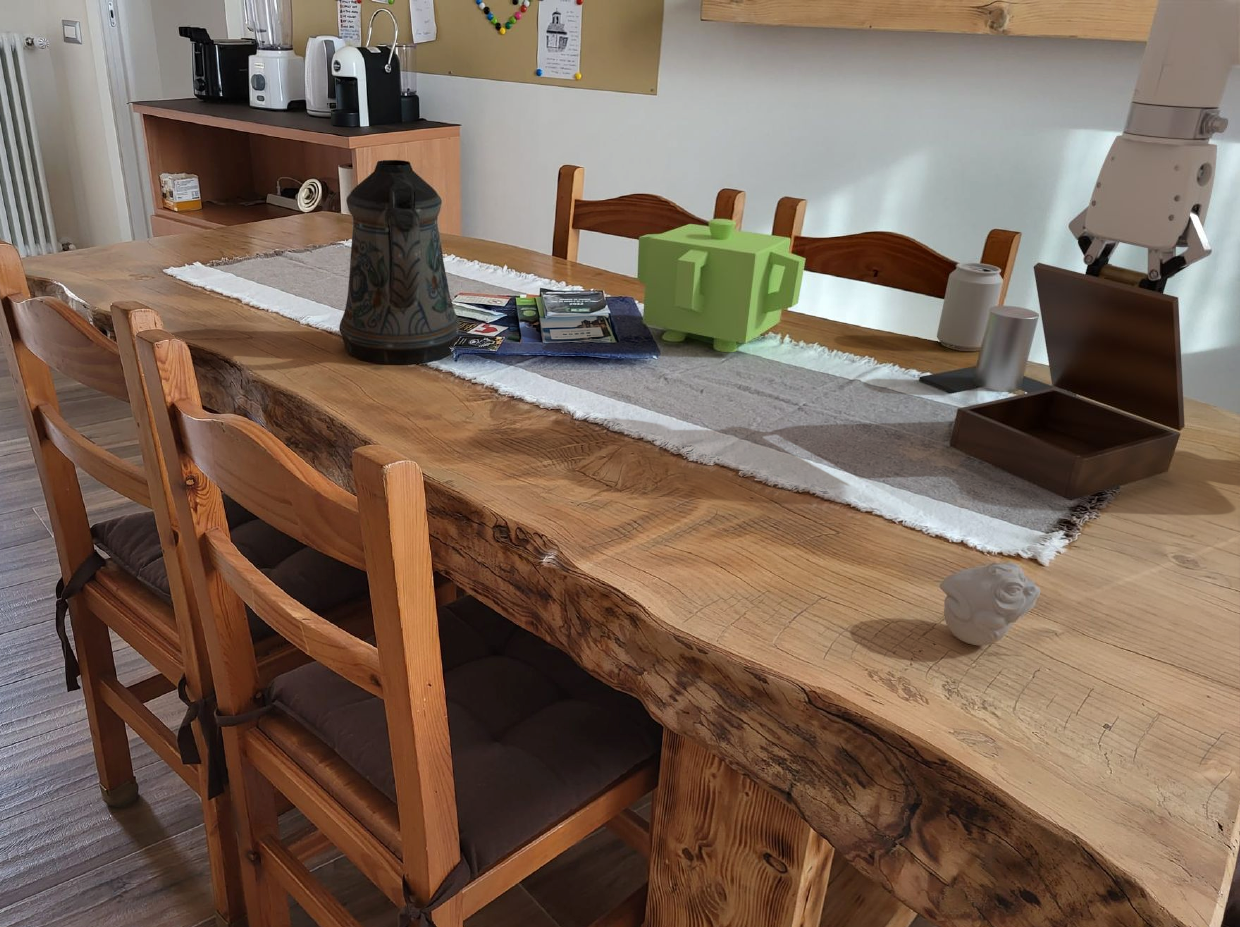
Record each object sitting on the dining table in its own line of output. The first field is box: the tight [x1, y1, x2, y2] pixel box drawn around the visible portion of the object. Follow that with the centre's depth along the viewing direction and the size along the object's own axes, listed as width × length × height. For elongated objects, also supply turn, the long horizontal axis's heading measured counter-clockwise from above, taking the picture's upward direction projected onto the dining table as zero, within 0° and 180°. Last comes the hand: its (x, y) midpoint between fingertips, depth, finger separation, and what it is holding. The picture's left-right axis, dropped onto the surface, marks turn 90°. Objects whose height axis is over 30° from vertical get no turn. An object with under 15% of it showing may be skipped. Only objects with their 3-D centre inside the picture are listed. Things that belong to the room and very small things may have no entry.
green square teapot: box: [636, 218, 807, 353], centre depth 147 cm, size 25×23×17 cm
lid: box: [1033, 262, 1185, 432], centre depth 107 cm, size 17×16×5 cm
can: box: [936, 262, 1004, 352], centre depth 148 cm, size 8×8×12 cm
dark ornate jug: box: [338, 159, 461, 366], centre depth 134 cm, size 16×19×25 cm
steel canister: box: [973, 305, 1040, 393], centre depth 131 cm, size 6×6×10 cm
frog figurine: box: [939, 561, 1041, 646], centre depth 77 cm, size 6×7×7 cm
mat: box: [918, 365, 1077, 396], centre depth 133 cm, size 14×14×1 cm
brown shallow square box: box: [949, 388, 1181, 502], centre depth 110 cm, size 17×16×5 cm
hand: (1116, 307), depth 105 cm, fingers closed on lid, 5 cm apart
